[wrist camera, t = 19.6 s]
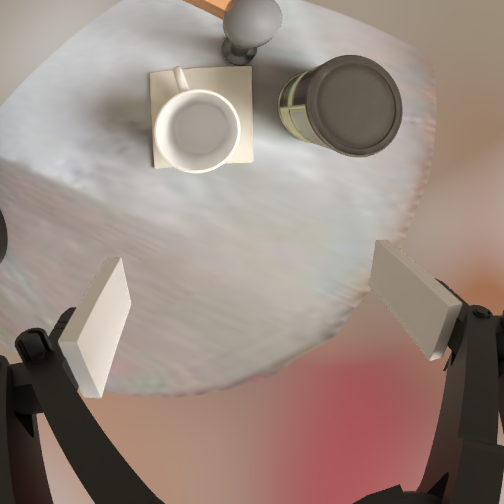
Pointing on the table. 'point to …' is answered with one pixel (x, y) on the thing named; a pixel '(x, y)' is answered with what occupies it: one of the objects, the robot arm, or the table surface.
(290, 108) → the coffee can
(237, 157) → the coaster
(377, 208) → the table surface
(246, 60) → the post
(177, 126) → the mug
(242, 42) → the swing arm
